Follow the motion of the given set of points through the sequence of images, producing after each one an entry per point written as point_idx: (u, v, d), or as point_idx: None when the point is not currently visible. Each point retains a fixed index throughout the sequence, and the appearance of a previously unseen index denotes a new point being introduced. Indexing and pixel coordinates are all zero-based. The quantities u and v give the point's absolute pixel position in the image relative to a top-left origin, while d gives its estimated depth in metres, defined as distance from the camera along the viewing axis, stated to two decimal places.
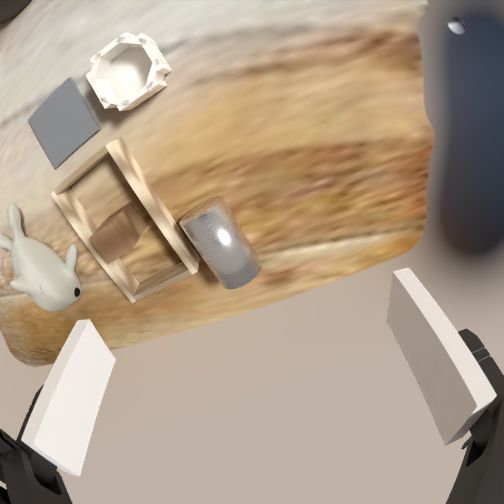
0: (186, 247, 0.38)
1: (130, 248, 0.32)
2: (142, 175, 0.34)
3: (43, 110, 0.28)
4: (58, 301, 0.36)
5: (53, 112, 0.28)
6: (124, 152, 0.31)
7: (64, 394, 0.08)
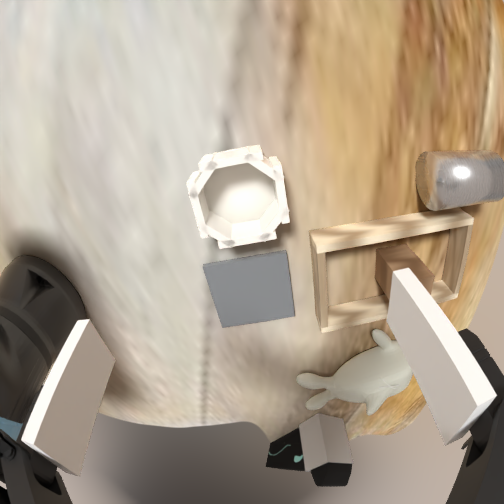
0: (447, 215, 0.28)
1: (432, 275, 0.26)
2: (362, 224, 0.29)
3: (224, 307, 0.34)
4: (409, 372, 0.35)
5: (234, 297, 0.33)
6: (331, 234, 0.29)
7: (64, 394, 0.08)
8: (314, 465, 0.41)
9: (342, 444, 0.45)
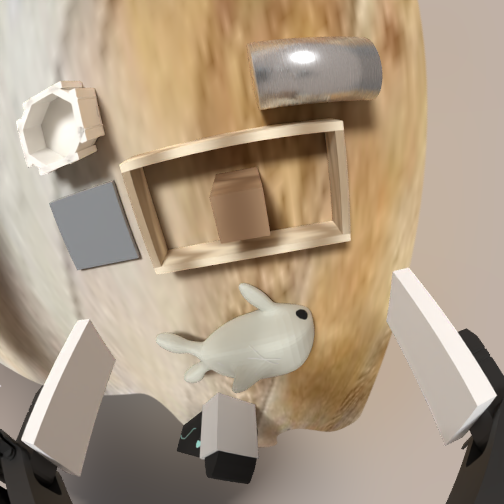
0: (304, 122, 0.24)
1: (259, 187, 0.22)
2: (185, 143, 0.25)
3: (72, 246, 0.30)
4: (294, 344, 0.31)
5: (77, 234, 0.29)
6: (144, 154, 0.25)
7: (64, 394, 0.08)
8: (206, 452, 0.37)
9: (246, 433, 0.41)
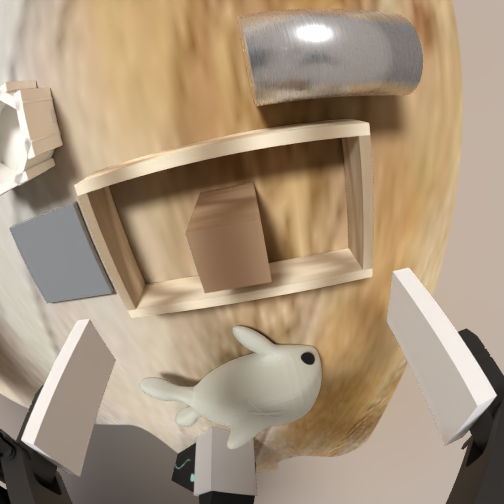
0: (316, 124, 0.18)
1: (256, 218, 0.15)
2: (158, 153, 0.19)
3: (38, 277, 0.24)
4: (298, 396, 0.24)
5: (42, 264, 0.23)
6: (106, 170, 0.18)
7: (64, 394, 0.08)
8: (200, 490, 0.30)
9: (243, 469, 0.34)
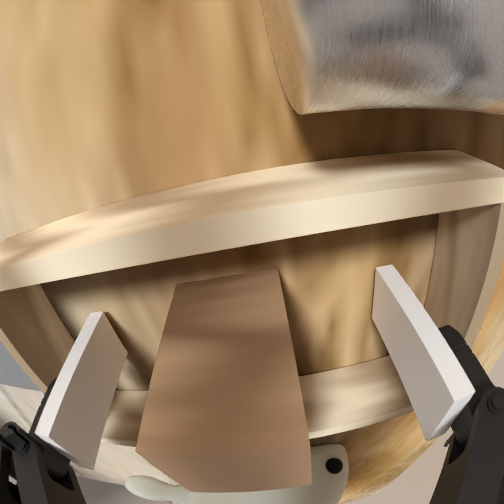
0: (420, 165, 0.07)
1: (299, 437, 0.05)
2: (88, 215, 0.09)
3: None
4: None
5: None
6: (8, 249, 0.08)
7: (78, 386, 0.09)
8: None
9: None
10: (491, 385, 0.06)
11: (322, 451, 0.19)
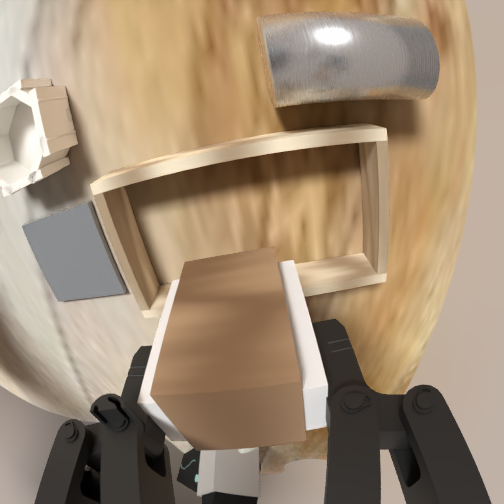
0: (334, 128, 0.17)
1: (291, 375, 0.07)
2: (175, 154, 0.19)
3: (50, 275, 0.24)
4: None
5: (54, 262, 0.24)
6: (122, 170, 0.19)
7: None
8: (203, 491, 0.30)
9: (247, 471, 0.34)
10: (363, 383, 0.07)
11: None
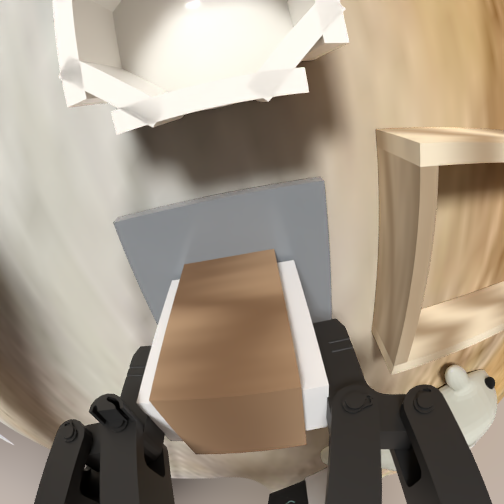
0: None
1: (292, 381, 0.07)
2: (478, 130, 0.10)
3: None
4: (491, 422, 0.16)
5: None
6: (434, 133, 0.09)
7: None
8: None
9: None
10: (364, 383, 0.07)
11: (479, 373, 0.20)
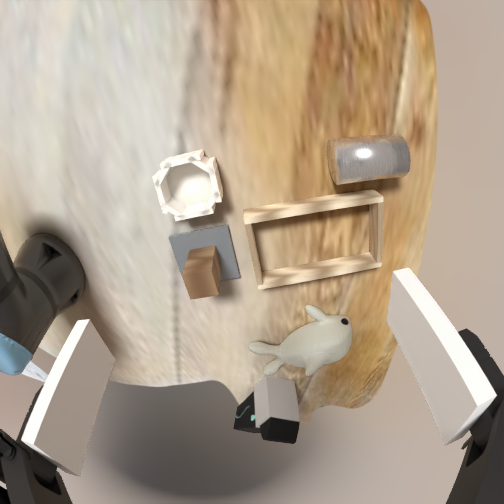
0: (359, 195, 0.39)
1: (210, 270, 0.38)
2: (283, 204, 0.41)
3: None
4: (342, 341, 0.47)
5: None
6: (257, 211, 0.40)
7: (64, 394, 0.08)
8: (261, 420, 0.52)
9: (289, 403, 0.55)
10: None
11: (338, 316, 0.51)
